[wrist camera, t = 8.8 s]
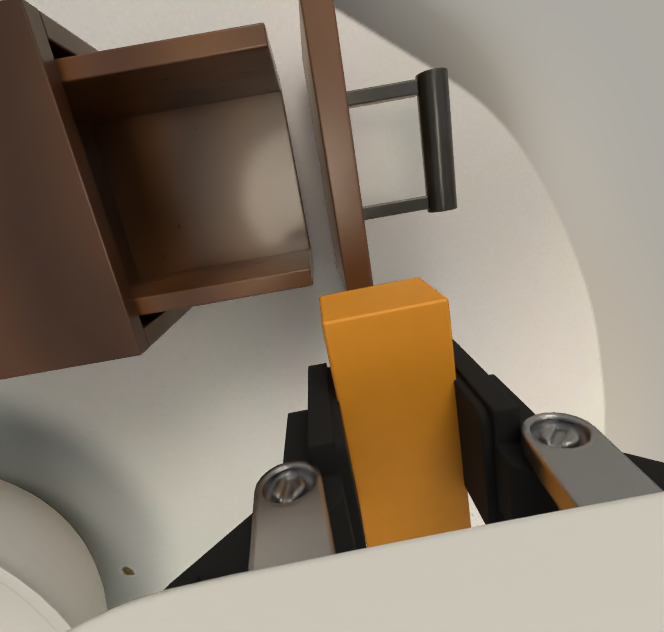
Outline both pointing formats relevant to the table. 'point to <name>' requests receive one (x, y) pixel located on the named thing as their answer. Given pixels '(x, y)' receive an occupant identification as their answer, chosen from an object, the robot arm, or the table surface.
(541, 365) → the table surface
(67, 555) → the bowl
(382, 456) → the block
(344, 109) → the drawer
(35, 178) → the cabinet
